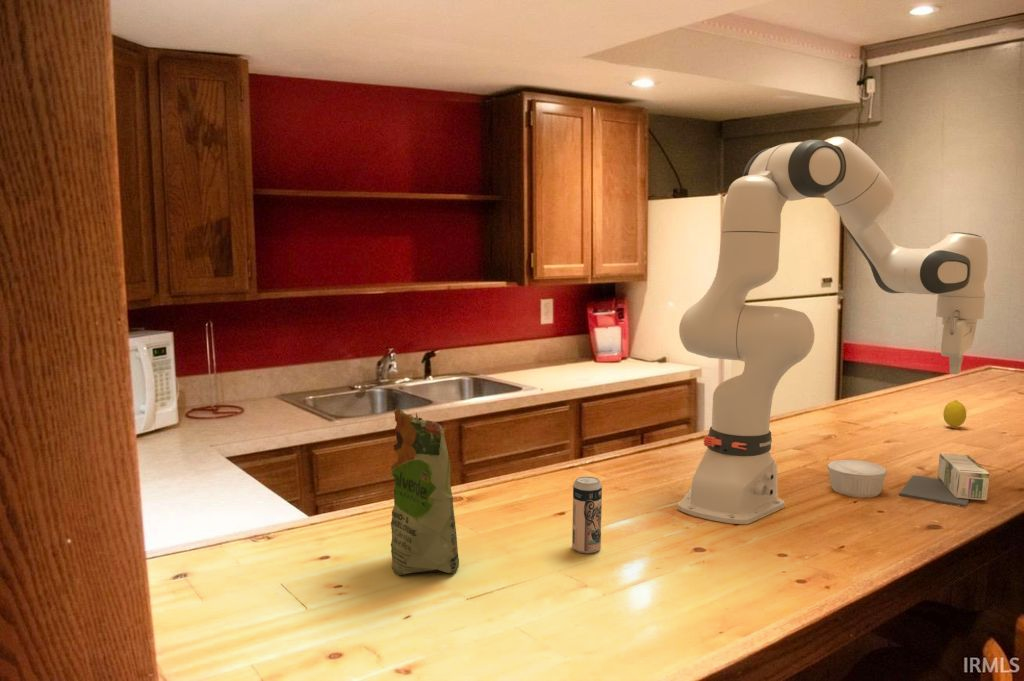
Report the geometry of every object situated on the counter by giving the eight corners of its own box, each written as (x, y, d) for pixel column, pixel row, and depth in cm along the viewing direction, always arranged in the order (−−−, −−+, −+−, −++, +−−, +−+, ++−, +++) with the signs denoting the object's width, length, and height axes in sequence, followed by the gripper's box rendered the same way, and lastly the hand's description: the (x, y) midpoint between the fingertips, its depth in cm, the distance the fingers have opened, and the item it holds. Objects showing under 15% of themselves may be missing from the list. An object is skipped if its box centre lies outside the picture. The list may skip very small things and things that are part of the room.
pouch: (449, 586, 120) (449, 422, 116) (373, 579, 122) (371, 418, 118) (466, 557, 130) (467, 406, 127) (396, 551, 132) (395, 403, 129)
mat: (966, 507, 157) (966, 504, 157) (899, 495, 164) (899, 493, 163) (975, 487, 170) (975, 484, 169) (912, 477, 176) (913, 474, 176)
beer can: (592, 557, 131) (594, 486, 129) (566, 551, 133) (568, 481, 132) (605, 547, 135) (607, 478, 133) (580, 542, 137) (581, 474, 136)
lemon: (965, 427, 224) (967, 399, 223) (964, 431, 219) (966, 402, 218) (943, 425, 227) (945, 397, 226) (941, 429, 222) (943, 400, 221)
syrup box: (965, 480, 173) (989, 501, 159) (935, 478, 174) (956, 498, 160) (968, 454, 172) (992, 473, 158) (938, 452, 173) (959, 471, 159)
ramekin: (817, 491, 166) (819, 466, 166) (838, 479, 174) (839, 456, 174) (873, 503, 159) (875, 478, 158) (892, 491, 167) (894, 466, 166)
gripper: (970, 313, 161) (965, 381, 162) (982, 307, 177) (977, 369, 179) (935, 311, 164) (930, 378, 166) (950, 305, 181) (945, 366, 182)
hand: (954, 373), depth 173 cm, fingers closed
